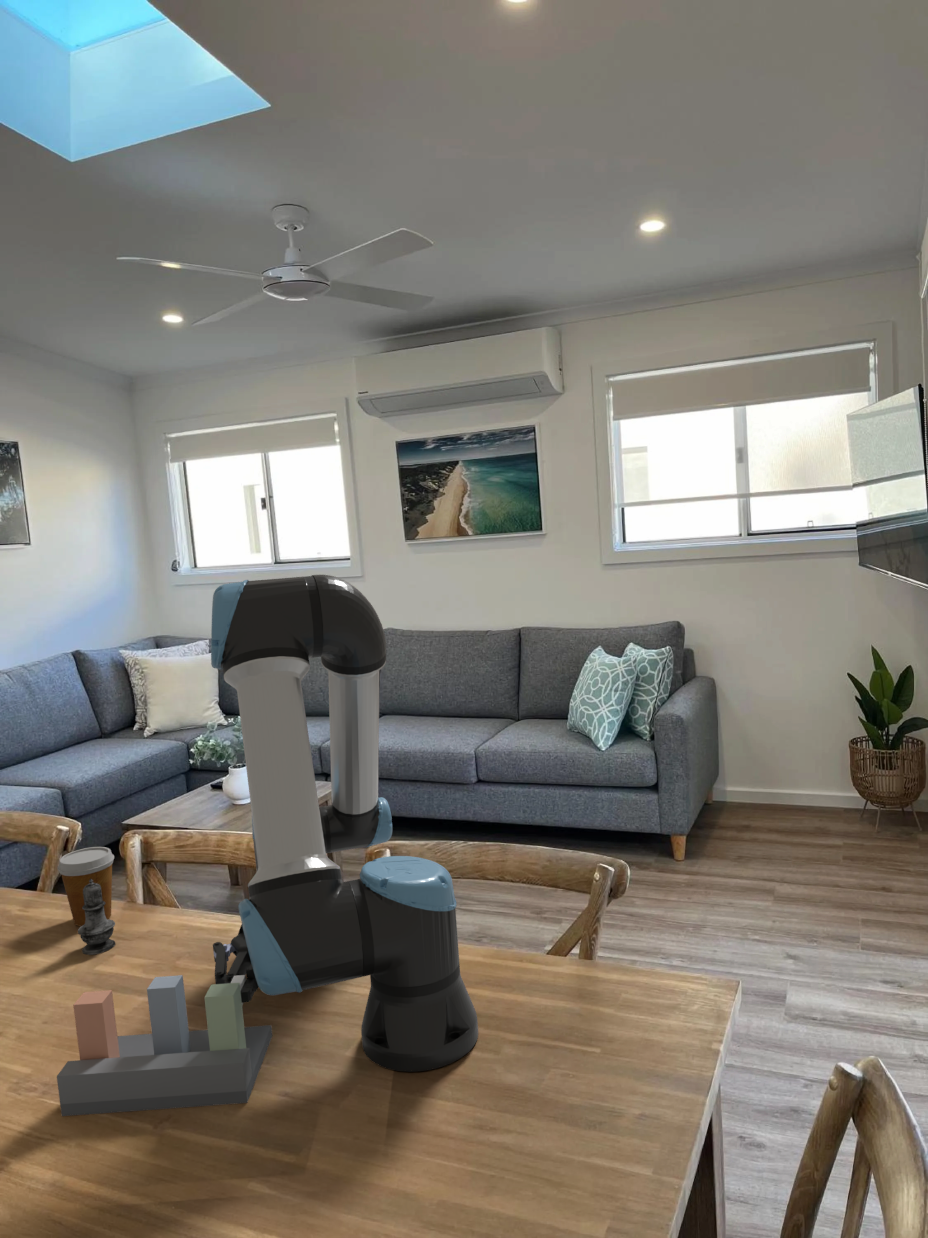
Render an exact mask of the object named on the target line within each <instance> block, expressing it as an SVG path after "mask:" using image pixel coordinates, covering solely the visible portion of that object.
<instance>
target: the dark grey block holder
mask: <svg viewBox="0 0 928 1238" xmlns="http://www.w3.org/2000/svg"><path fill="white" fill-rule="evenodd" d="M244 1030H245V1039H246V1048H243V1049H229V1050H215V1051H210V1045H209V1036H208V1029H199V1030H189V1037H190V1046H191V1050H190V1052H187V1053H173V1054H160V1055H154V1048H153V1039H152V1033H145V1034H127V1035H117V1037H118V1045H119V1054H120V1057H118V1058H104V1059H90V1060H80V1059H79V1060H78V1059H77V1060H68V1061H67V1062H66V1063H65V1064H64V1066H63V1067H62V1068H61V1070H59V1073H58V1074H57V1075H56V1081H57V1090H58V1098H59V1106H60V1113H61V1114H60V1115H61V1117H68V1116H82V1115H83V1116H85V1115H97V1114H109V1113H110V1114H111V1113H124V1112H125V1113H126V1112H127V1113H128V1112H137V1111H138V1112H139V1111H152V1110H155V1111H156V1110H166V1109H167V1110H168V1109H179V1108H180V1109H181V1108H195V1107H206V1106H207V1107H209V1106H222V1105H224V1106H225V1105H234V1104H235V1105H236V1104H247V1103H248V1102H249V1100H250V1097H251V1094H252V1092H253V1089H254V1086H255V1084H256V1081H257V1078H258V1075H259V1072H260V1070H261V1068H262V1065H263V1061H264V1060H265V1057H266V1054H267V1051H268V1049H269V1046H270V1043H271V1041H272V1038H273V1037H274V1036H273V1027H272V1024H267V1025H265V1024H264V1025H254V1026H244Z"/></svg>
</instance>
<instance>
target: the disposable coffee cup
mask: <svg viewBox="0 0 928 1238" xmlns="http://www.w3.org/2000/svg"><path fill="white" fill-rule="evenodd" d="M114 859H115V855H114V854H113V853H112V850H111V848H109V847H105V846H91V847H85V848H81V849H77V850H74V851H71V852H69V853H66V854H64V855H63V856H61V857H60V858H59V863H58V865H57V867H56V869H57V871H58V872H59V874H60V875H61V879H62V884H63V885H64V890H65V894H66V897H67V902H68V905H69V908H70V912H71V915H72V919H73V924H74V925H75V926H77V927H81V926H83V925H84V924H85V920H86V917H85V910H83V909H82V907H83V906H84V896H83V889H84V887H85V886H86V885H88V884H89V883H90V882H89V880H90V879H92V880H93V883H97V884H99V885H100V886H101V891H102V900H103V901H104V902H105V905H104V912H105V916H106V919H111V917H112V895H113V894H112V893H113V892H112V891H113V890H112V888H113V887H112V886H113V884H112V883H113V863H114Z"/></svg>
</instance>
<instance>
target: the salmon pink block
mask: <svg viewBox="0 0 928 1238" xmlns="http://www.w3.org/2000/svg"><path fill="white" fill-rule="evenodd" d="M115 1013H116V1012H115V1005H114V996H113V990H112V989H109V990H95V991H84V992H83V993H82V994H81V995H80V996H79V997H78V999H77V1000H76V1001H75V1002H74V1004H73V1014H74V1021H75V1028H76V1029H75V1030H76V1038H77V1047H78V1053H79V1054H78V1055H79V1060H90V1059H104V1058H118V1057H120V1054H119V1045H118V1037H117V1036H118V1031H117V1030H118V1029H117V1022H116V1021H117V1020H116V1014H115Z"/></svg>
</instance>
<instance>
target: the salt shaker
mask: <svg viewBox="0 0 928 1238" xmlns="http://www.w3.org/2000/svg"><path fill="white" fill-rule="evenodd" d="M89 882H90V883H89V884H88V885H86V886H85V887H84V889H83V896H84V906H83V907H82V909H83V910H85V917H86V920H85V924H84V925H83V926H79V928H78V929H77V934H78V935H79V936H80V939H81V940H82V942H83V943H85V944H86V945H84V946H83V947H82V949H81V953H82V954H84V955H88V956H91V955H99V954H103V953H106V952H107V951H110V950H112V949H113V948H114V947H115V946H116V941H115V940H114V939H111V938H112V935H113V933H114V930H115V929H114V927H115V926H116V921H115V920H113V919H111V918H109V919H106V916H105V912H104V905H105V902H104V901H103V900H102V891H101V886H100V885H99V884H97V883H93V880H92V879H90V880H89Z"/></svg>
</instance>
